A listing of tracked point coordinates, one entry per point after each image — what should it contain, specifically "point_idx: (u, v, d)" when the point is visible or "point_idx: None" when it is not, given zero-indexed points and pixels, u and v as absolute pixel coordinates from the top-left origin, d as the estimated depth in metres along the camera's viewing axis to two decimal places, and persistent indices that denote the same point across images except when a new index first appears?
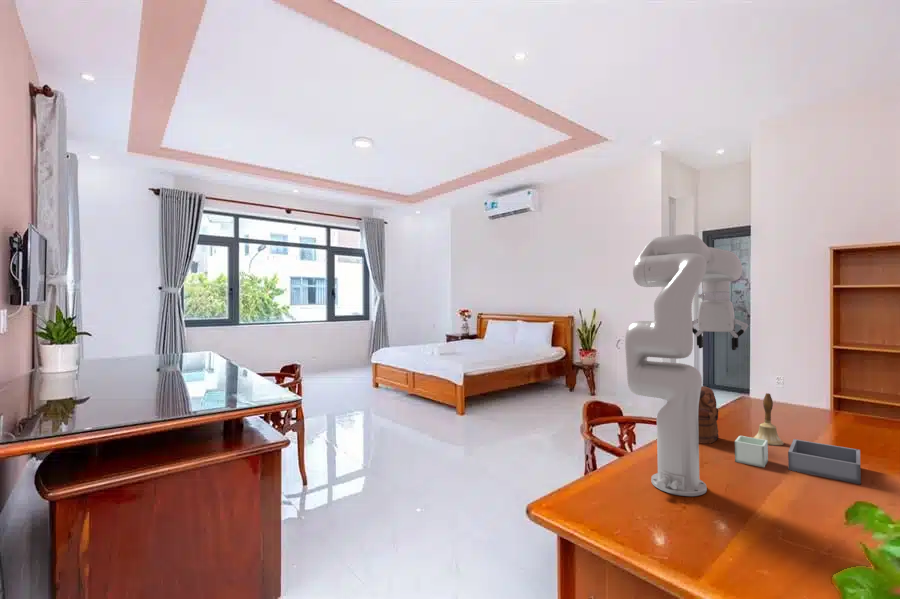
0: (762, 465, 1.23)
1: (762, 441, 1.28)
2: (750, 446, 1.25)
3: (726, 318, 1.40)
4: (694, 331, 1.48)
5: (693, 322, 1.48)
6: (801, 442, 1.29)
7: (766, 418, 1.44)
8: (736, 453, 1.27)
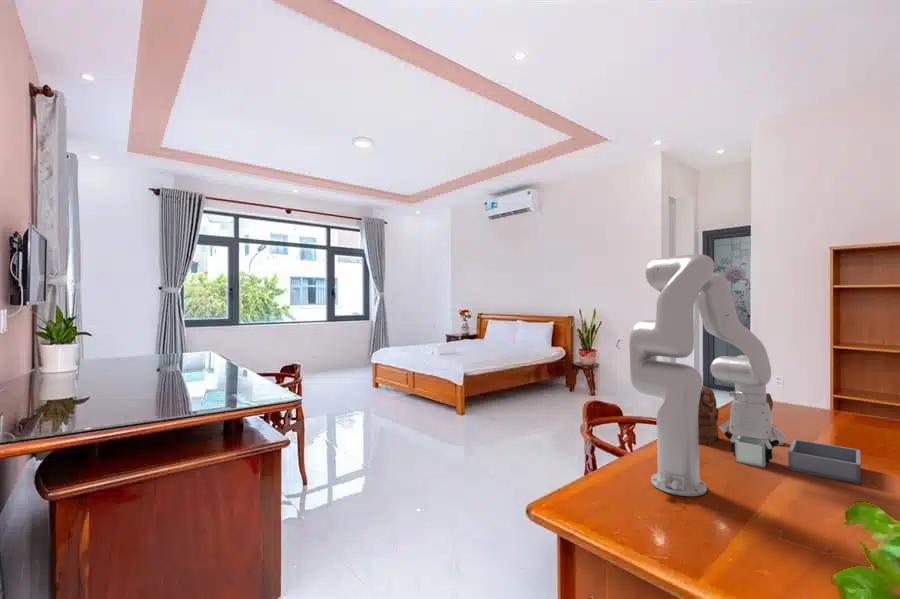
0: (762, 465, 1.23)
1: (762, 441, 1.28)
2: (750, 446, 1.25)
3: (763, 424, 1.23)
4: (728, 435, 1.31)
5: (725, 425, 1.31)
6: (801, 442, 1.29)
7: None
8: (736, 453, 1.27)
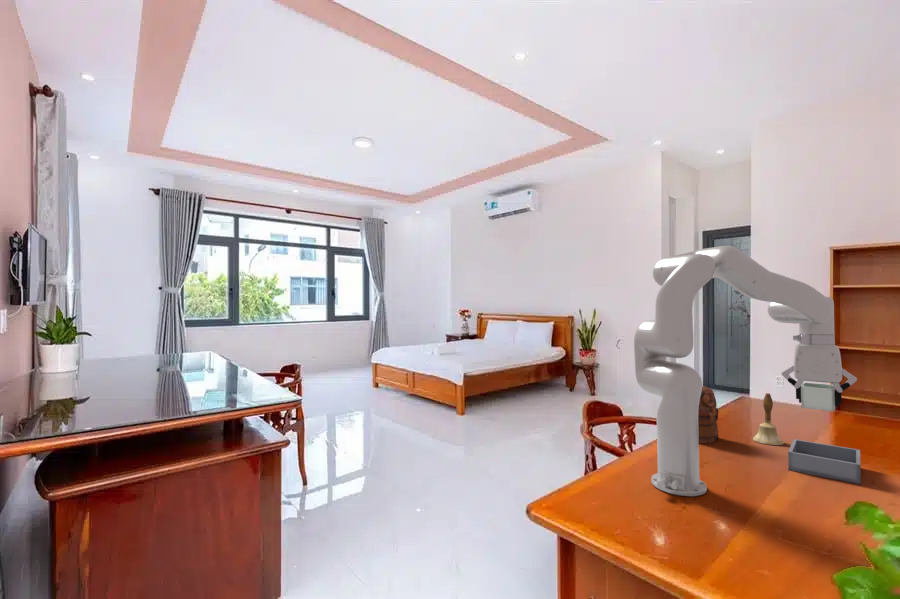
0: (832, 409, 1.17)
1: (829, 386, 1.22)
2: (818, 390, 1.19)
3: (833, 367, 1.17)
4: (792, 382, 1.24)
5: (788, 371, 1.25)
6: (801, 442, 1.29)
7: (766, 418, 1.44)
8: (802, 398, 1.21)
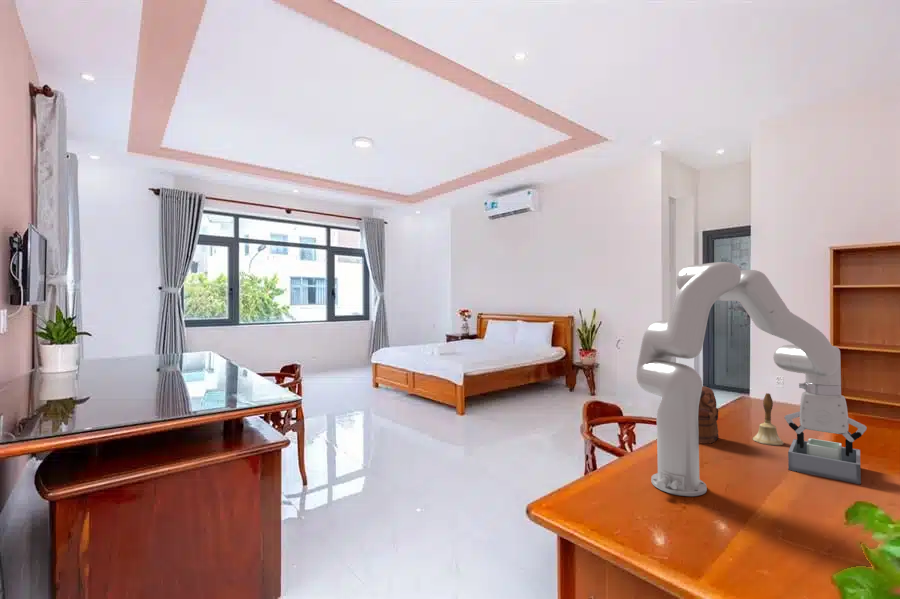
0: None
1: (835, 444, 1.21)
2: (824, 449, 1.18)
3: (839, 418, 1.17)
4: (793, 427, 1.25)
5: (792, 416, 1.25)
6: None
7: (766, 418, 1.44)
8: None
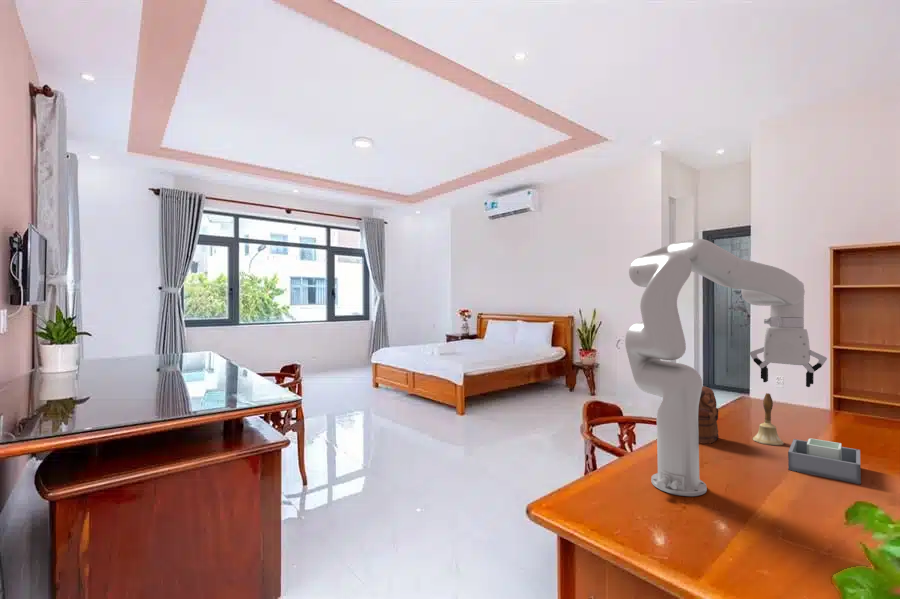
0: None
1: (835, 444, 1.21)
2: (824, 449, 1.18)
3: (800, 349, 1.19)
4: (758, 362, 1.27)
5: (757, 351, 1.27)
6: (801, 442, 1.29)
7: (766, 418, 1.44)
8: None
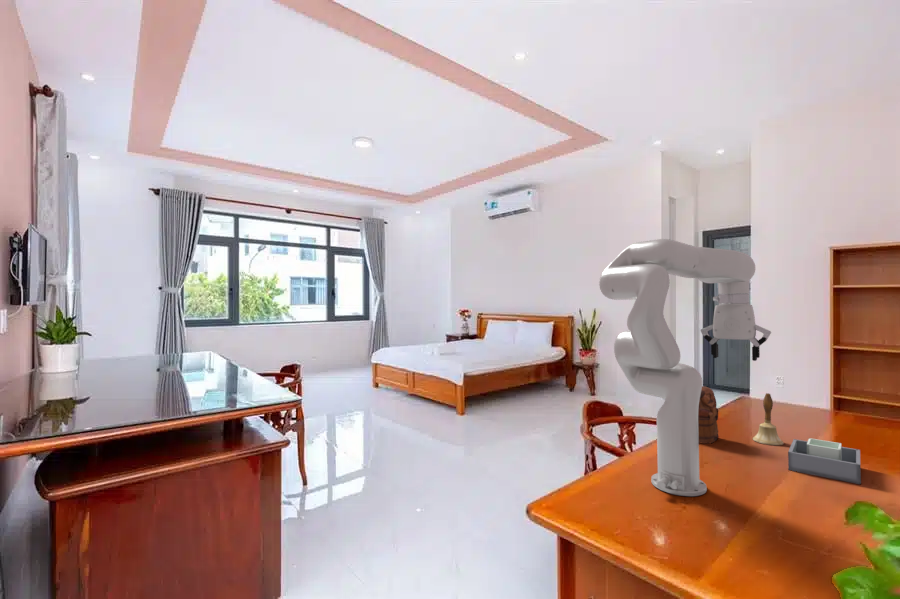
0: None
1: (835, 444, 1.21)
2: (824, 449, 1.18)
3: (746, 324, 1.22)
4: (708, 338, 1.30)
5: (707, 328, 1.31)
6: (801, 442, 1.29)
7: (766, 418, 1.44)
8: None
